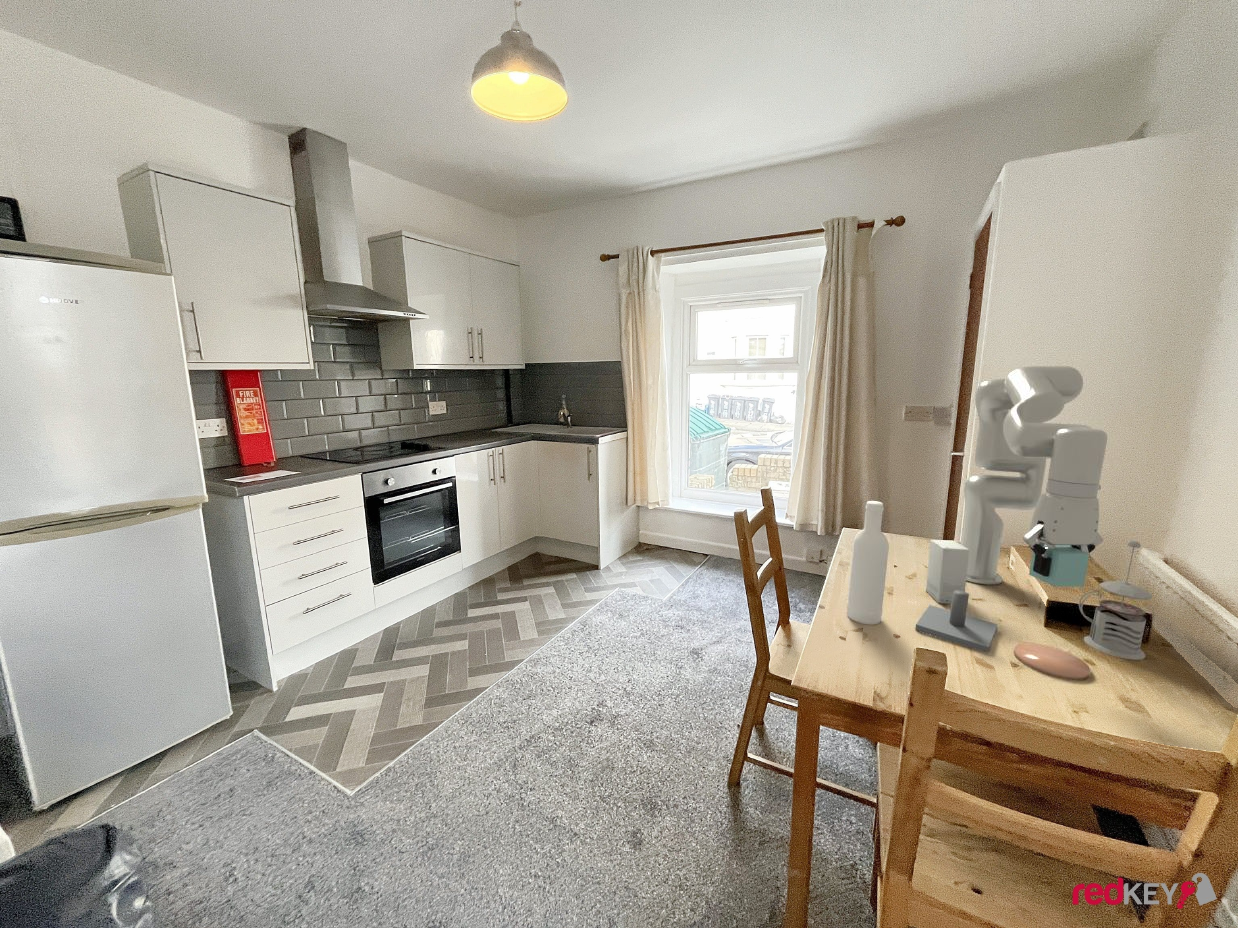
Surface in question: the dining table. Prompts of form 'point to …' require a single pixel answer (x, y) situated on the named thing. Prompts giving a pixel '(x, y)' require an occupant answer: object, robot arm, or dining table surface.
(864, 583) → the bottle
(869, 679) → the dining table surface
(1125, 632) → the french press
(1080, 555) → the block
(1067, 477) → the robot arm
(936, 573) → the skincare box
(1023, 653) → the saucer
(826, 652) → the dining table surface
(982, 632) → the post board
